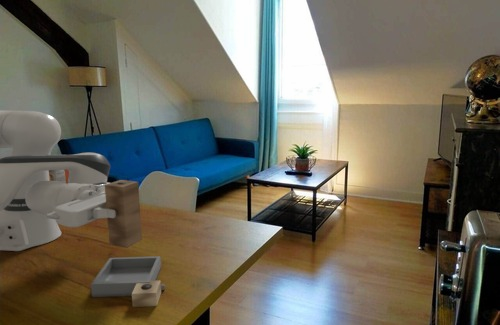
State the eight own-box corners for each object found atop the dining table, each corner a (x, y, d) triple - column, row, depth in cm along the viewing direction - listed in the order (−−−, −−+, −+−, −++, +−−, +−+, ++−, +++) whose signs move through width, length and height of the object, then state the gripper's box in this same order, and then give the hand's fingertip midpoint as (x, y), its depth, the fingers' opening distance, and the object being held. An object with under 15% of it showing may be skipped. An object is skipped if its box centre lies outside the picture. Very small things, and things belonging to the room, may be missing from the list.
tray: (92, 297, 77) (90, 284, 76) (110, 269, 89) (109, 257, 89) (150, 295, 78) (149, 282, 77) (161, 267, 90) (160, 256, 90)
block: (109, 244, 80) (104, 184, 78) (125, 236, 85) (120, 179, 82) (127, 248, 78) (122, 186, 76) (141, 239, 83) (138, 181, 80)
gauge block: (130, 306, 73) (129, 293, 73) (138, 289, 80) (137, 276, 80) (159, 305, 74) (158, 292, 73) (165, 288, 81) (164, 275, 80)
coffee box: (39, 194, 156) (34, 159, 153) (49, 190, 163) (45, 156, 159) (57, 195, 155) (53, 159, 152) (67, 191, 161) (63, 157, 158)
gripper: (39, 201, 75) (88, 209, 70) (110, 180, 93) (153, 185, 88) (42, 229, 76) (91, 239, 71) (112, 203, 95) (155, 209, 89)
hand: (126, 209), depth 80 cm, fingers closed on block, 5 cm apart
